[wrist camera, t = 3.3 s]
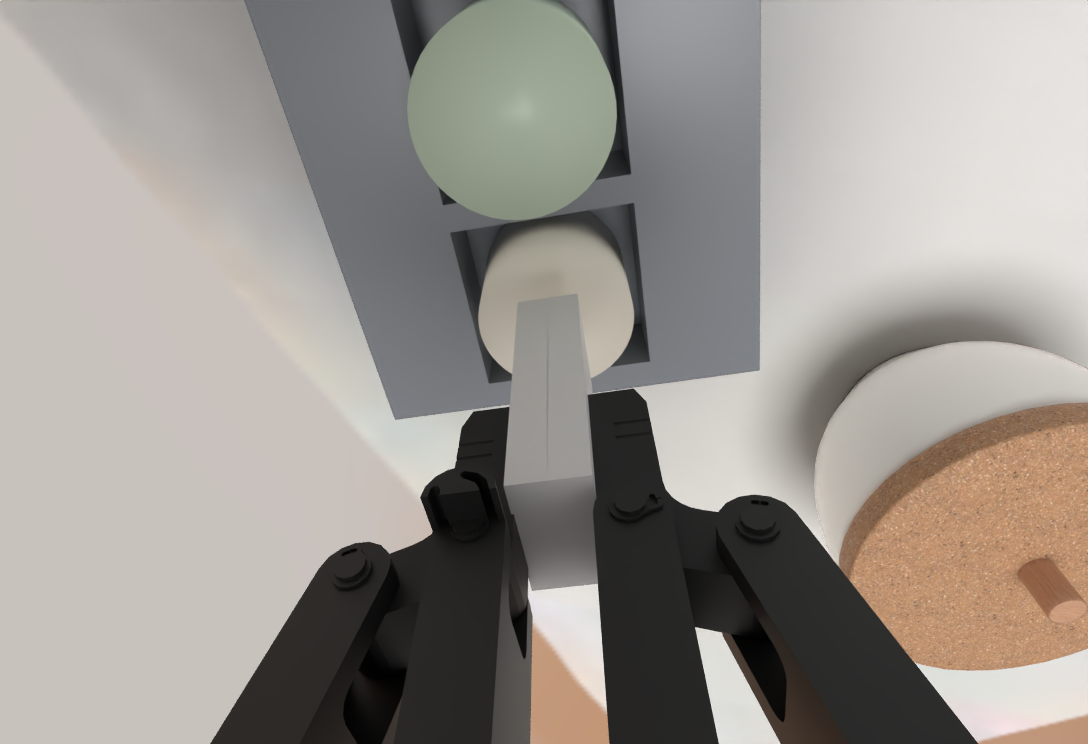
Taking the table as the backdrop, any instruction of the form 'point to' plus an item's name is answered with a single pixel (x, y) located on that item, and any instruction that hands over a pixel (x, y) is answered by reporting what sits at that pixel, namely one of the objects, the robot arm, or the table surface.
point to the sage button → (512, 108)
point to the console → (466, 236)
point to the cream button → (558, 283)
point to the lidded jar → (964, 502)
